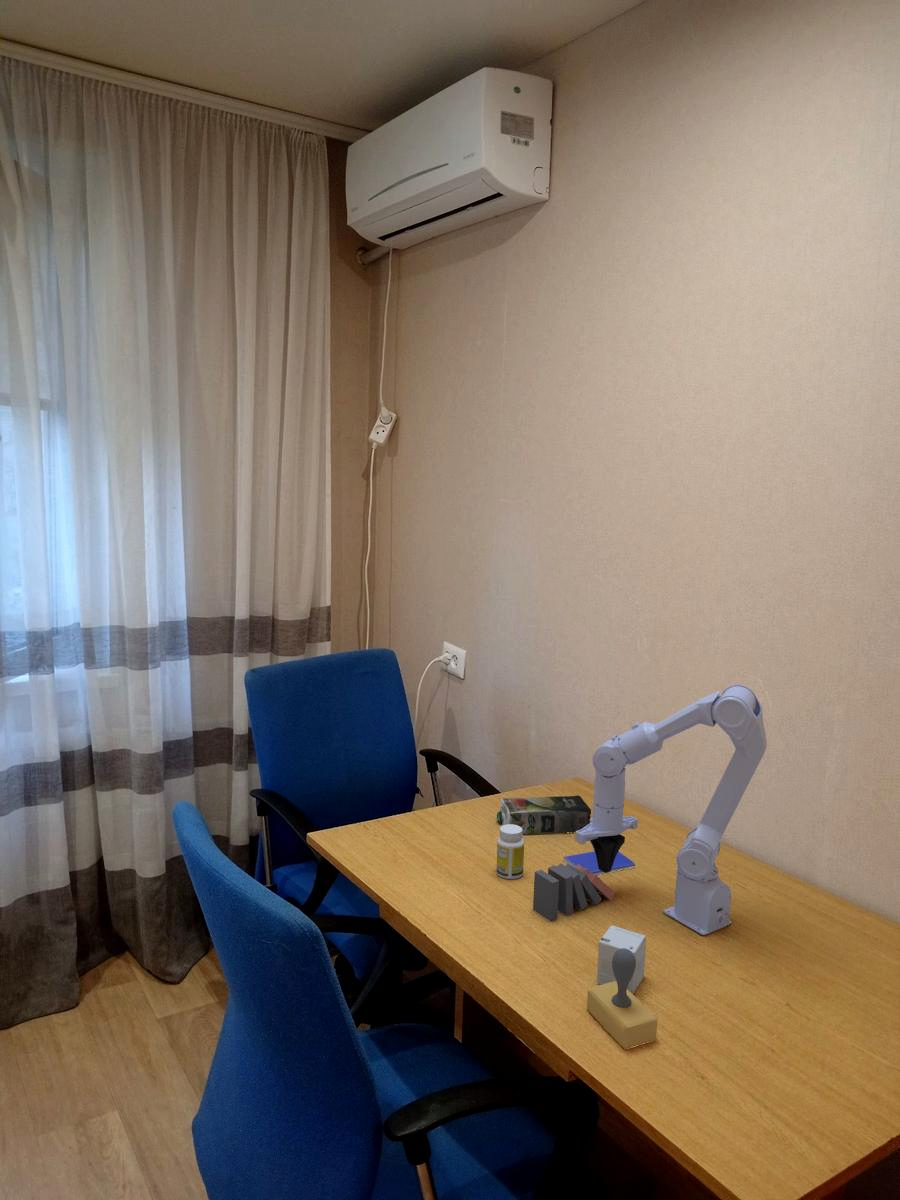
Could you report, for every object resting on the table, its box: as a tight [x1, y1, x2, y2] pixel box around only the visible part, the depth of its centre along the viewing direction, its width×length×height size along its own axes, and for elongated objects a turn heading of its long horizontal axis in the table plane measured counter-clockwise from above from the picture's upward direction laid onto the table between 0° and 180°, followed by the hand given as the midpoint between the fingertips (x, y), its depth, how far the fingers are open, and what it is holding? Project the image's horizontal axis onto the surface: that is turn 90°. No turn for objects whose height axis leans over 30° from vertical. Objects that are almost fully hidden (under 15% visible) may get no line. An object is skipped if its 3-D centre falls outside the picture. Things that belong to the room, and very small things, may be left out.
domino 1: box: [532, 869, 559, 922], centre depth 155 cm, size 2×5×8 cm, turn 34°
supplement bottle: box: [495, 824, 525, 880], centre depth 170 cm, size 6×5×10 cm
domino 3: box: [556, 863, 588, 912], centre depth 158 cm, size 2×5×8 cm, turn 33°
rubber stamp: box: [586, 948, 658, 1050], centre depth 124 cm, size 10×6×12 cm, turn 24°
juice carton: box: [496, 795, 592, 836], centre depth 194 cm, size 20×10×6 cm, turn 99°
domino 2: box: [547, 865, 574, 917], centre depth 156 cm, size 2×5×8 cm, turn 34°
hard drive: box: [562, 850, 636, 876], centre depth 176 cm, size 2×8×12 cm
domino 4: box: [565, 863, 602, 906], centre depth 160 cm, size 2×5×8 cm
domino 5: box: [576, 865, 616, 901], centre depth 161 cm, size 2×5×8 cm
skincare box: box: [596, 925, 647, 995], centre depth 135 cm, size 6×6×7 cm
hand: (604, 870), depth 162 cm, fingers closed
